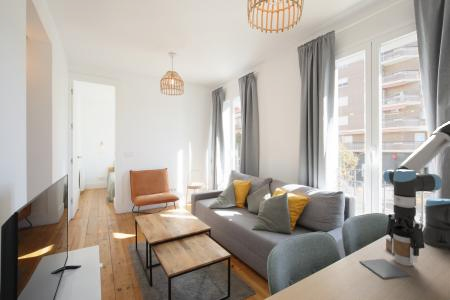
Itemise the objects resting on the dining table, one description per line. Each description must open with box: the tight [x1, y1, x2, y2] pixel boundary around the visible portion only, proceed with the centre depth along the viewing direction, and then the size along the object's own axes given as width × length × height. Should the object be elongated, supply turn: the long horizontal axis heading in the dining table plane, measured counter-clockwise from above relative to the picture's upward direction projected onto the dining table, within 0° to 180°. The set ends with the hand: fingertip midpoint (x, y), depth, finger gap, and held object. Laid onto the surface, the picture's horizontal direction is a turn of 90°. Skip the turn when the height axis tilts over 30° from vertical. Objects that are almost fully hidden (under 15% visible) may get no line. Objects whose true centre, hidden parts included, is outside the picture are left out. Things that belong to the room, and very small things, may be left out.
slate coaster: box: [359, 258, 411, 280], centre depth 90 cm, size 12×12×1 cm
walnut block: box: [385, 237, 392, 252], centre depth 106 cm, size 5×5×5 cm
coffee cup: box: [392, 226, 416, 267], centre depth 95 cm, size 8×8×15 cm
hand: (404, 257), depth 95 cm, fingers closed on coffee cup, 8 cm apart
